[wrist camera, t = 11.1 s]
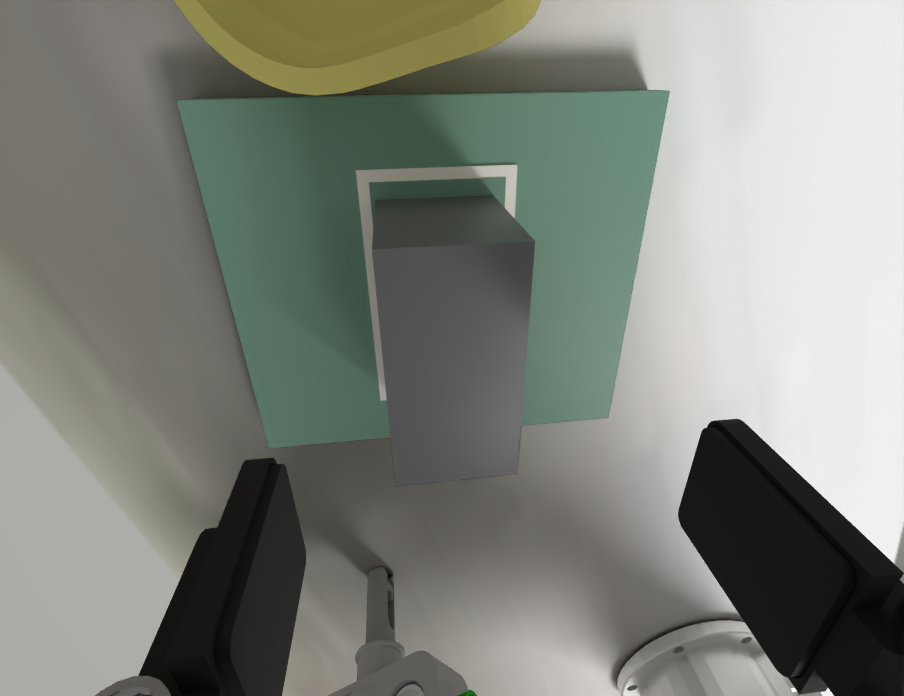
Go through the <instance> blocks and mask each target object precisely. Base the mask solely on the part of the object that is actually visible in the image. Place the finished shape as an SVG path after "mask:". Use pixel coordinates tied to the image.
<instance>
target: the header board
mask: <svg viewBox="0 0 904 696" xmlns="http://www.w3.org/2000/svg"><path fill="white" fill-rule="evenodd" d="M669 92H670V91H663V90H607V91H555V92H502V93H449V94H397V95H344V96H292V97H239V98H192V99H184V100H176V101H177V105H178V109H179V113H180V116H181V120H182V124H183V128H184V131H185V135H186V139H187V143H188V146H189V150H190V154H191V158H192V161H193V165H194V169H195V173H196V176H197V180H198V184H199V188H200V191H201V195H202V199H203V203H204V206H205V210H206V214H207V218H208V221H209V225H210V229H211V233H212V237H213V240H214V244H215V248H216V252H217V255H218V259H219V263H220V267H221V270H222V274H223V278H224V282H225V285H226V289H227V293H228V297H229V300H230V304H231V308H232V312H233V315H234V319H235V323H236V327H237V330H238V334H239V338H240V342H241V345H242V349H243V353H244V357H245V360H246V364H247V368H248V372H249V375H250V379H251V383H252V387H253V390H254V394H255V398H256V402H257V405H258V409H259V413H260V417H261V420H262V424H263V428H264V432H265V435H266V439H267V443H268V447H269V448H280V447H291V446H302V445H313V444H324V443H335V442H346V441H357V440H368V439H379V438H390V429H389V419H388V409H387V398H386V388H385V378H384V368H383V358H382V348H381V337H380V327H379V317H378V307H377V297H376V287H375V276H374V266H373V256H372V240H373V226H374V211H375V200H388V199H413V198H438V197H463V196H488V195H494V196H495V198H496V199H497V200H498V201H499V202H500V203H501V204H502V205H503V206H504V207H505V209H506V210H507V211H508V212H509V213H510V214H511V215H512V216H513V217H514V218H515V220H516V221H517V222H518V223H519V224H520V225H521V226H522V227H523V228H524V229H525V230H526V232H527V233H528V234H529V235H530V236H531V237H532V238H533V239H534V240H535V252H534V265H533V278H532V291H531V304H530V317H529V330H528V343H527V357H526V370H525V383H524V396H523V409H522V422H521V426H523V425H534V424H545V423H556V422H567V421H578V420H589V419H600V418H608V417H609V411H610V406H611V401H612V395H613V390H614V385H615V379H616V374H617V369H618V363H619V358H620V353H621V347H622V342H623V337H624V331H625V326H626V321H627V316H628V310H629V305H630V300H631V294H632V289H633V284H634V278H635V273H636V268H637V262H638V257H639V252H640V246H641V241H642V236H643V230H644V225H645V220H646V215H647V209H648V204H649V199H650V193H651V188H652V183H653V177H654V172H655V167H656V161H657V156H658V151H659V145H660V140H661V135H662V129H663V124H664V119H665V114H666V108H667V103H668V98H669Z"/></svg>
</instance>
